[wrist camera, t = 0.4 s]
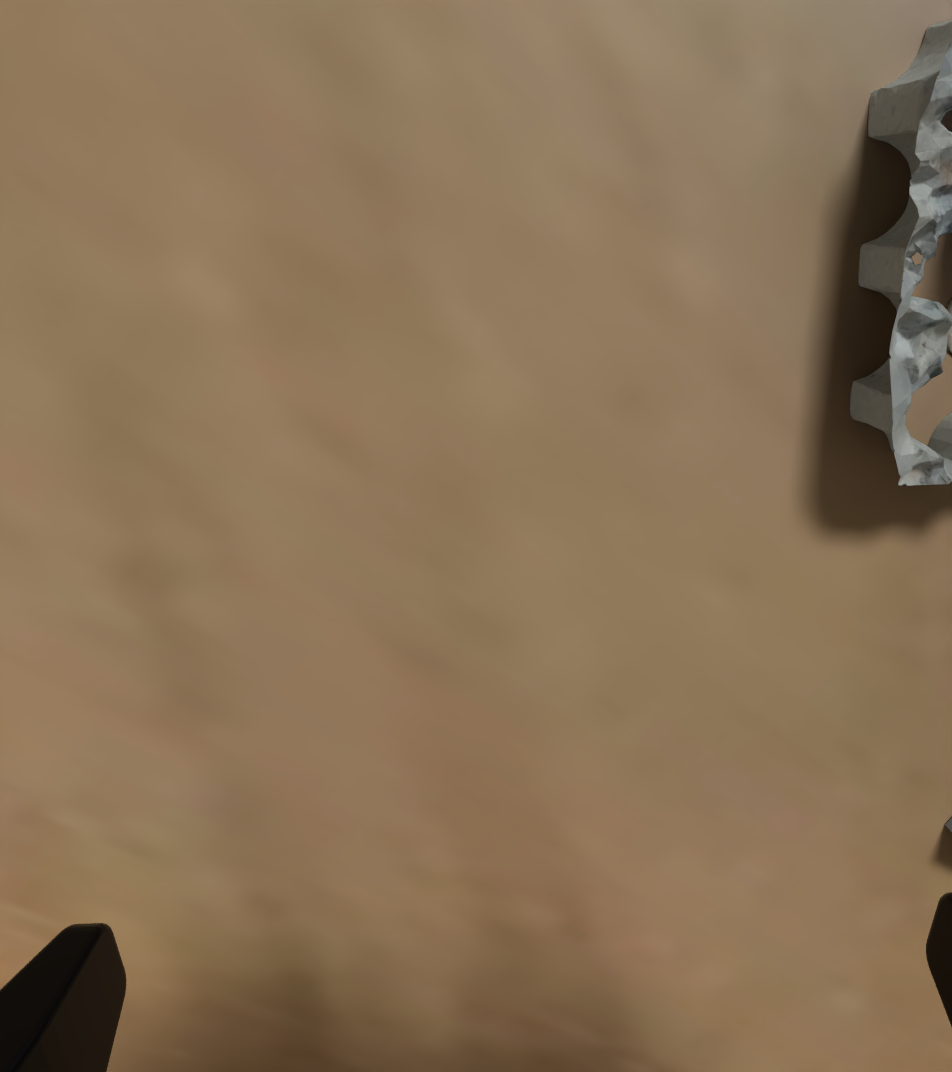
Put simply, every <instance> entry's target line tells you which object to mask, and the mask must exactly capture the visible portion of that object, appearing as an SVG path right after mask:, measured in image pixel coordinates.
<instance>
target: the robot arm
mask: <svg viewBox="0 0 952 1072" xmlns="http://www.w3.org/2000/svg"><path fill="white" fill-rule="evenodd" d="M926 956H927V961H928V965H929V968H930V971H931V974H932V976H933V979H934V982H935V984H936V987H937V989H938V992H939V995H940V997H941V1000H942V1003H943V1005H944V1008H945V1010H946V1013H947V1016H948V1018H949V1021H950V1024H951V1026H952V892H951V893H946V894H944V895H943V896H942V897H941V898H940V900H939V902H938V906H937V909H936V912H935V915H934V919H933V922H932V925H931V929H930V932H929V935H928V939H927V943H926ZM125 991H126V974H125V969H124V966H123V963H122V960H121V957H120V953H119V950H118V947H117V944H116V941H115V938H114V934H113V932H112V930H111V928H110V927H109V926H108V925H107V924H104V923H92V924H74V925H71V926H68V927H67V928H65V929H64V930H62V931H61V932H60V933H59V934H58V935H57V936H56V937H55V938H54V939H53V940H52V941H51V942H50V943H49V944H48V945H46V946H45V947H44V948H43V949H42V950H41V951H40V952H39V953H38V954H37V955H36V956H35V957H34V958H33V959H32V960H31V961H30V962H29V963H28V964H27V965H26V966H25V967H24V968H23V969H21V970H20V971H19V972H18V973H17V974H16V975H15V976H14V977H13V978H12V979H11V980H10V981H9V982H8V983H7V984H6V985H5V986H4V987H3V988H2V989H1V990H0V1072H106V1071H107V1067H108V1063H109V1058H110V1054H111V1050H112V1046H113V1042H114V1038H115V1034H116V1030H117V1026H118V1022H119V1018H120V1014H121V1010H122V1006H123V1001H124V997H125Z"/></svg>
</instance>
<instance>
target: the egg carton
mask: <svg viewBox="0 0 952 1072" xmlns="http://www.w3.org/2000/svg"><path fill="white" fill-rule="evenodd" d="M950 110H952V19H950V20H948V21H945V22H941V23H937V24H935V25H932V26H930V27H928V28H927V30H926V33H925V37H924V40H923V43H922V46H921V48H920V50H919V52H918V54H917V56H916V58H915V59H914V61H913V63H912V64H911V66H910V67H909V69H908V70H907V71H906V72H905V73H904V74H903V75H902V76H901V77H899V78H898V79H897V80H896V81H895V82H893V83H891V84H889V85H887V86H885V87H883V88H880V89H877V90H874V91H873V92H872V93H871V96H870V104H869V120H868V136H870V137H871V138H874V139H876V140H881V141H885V142H887V143H889V144H891V145H892V146H894V147H895V148H896V149H898V150H899V151H900V152H901V153H902V154H903V155H904V157H905V158H906V160H907V161H908V164H909V167H910V170H911V177H910V178H909V194H910V196H909V201H908V204H907V207H906V209H905V211H904V213H903V215H902V216H901V218H900V219H899V220H898V221H897V223H896V224H895V225H894V226H893V227H892V228H891V229H890V230H889V231H887V232H886V233H885V234H883V235H882V236H880V237H879V238H877V239H874V240H872V241H869V242H866V243H864V244H862V246H861V250H860V261H859V274H858V280H859V286H861V287H864V288H867V289H871V290H874V291H877V292H880V293H882V294H883V295H884V296H886V297H887V298H889V299H890V301H891V302H892V303H893V305H894V306H895V307H896V310H897V316H896V319H895V323H894V327H893V331H892V337H891V344H890V350H889V358H888V359H887V361H886V362H885V363H884V364H883V365H882V366H881V367H880V368H879V369H877V370H876V371H875V372H873V373H872V374H870V375H869V376H866V377H863V378H860V379H857V380H854V381H853V385H852V389H851V398H850V414H851V417H852V418H853V419H854V420H857V421H860V422H864V423H867V424H869V425H871V426H873V427H875V428H877V429H880V430H882V431H884V433H885V434H886V436H887V438H888V441H889V444H890V448H891V450H892V451H893V452H894V454H895V459H896V463H897V467H898V472H899V476H900V480H899V483H898V485H902V486H912V485H936V484H950V483H951V482H952V412H951V413H950V414H949V415H947V416H946V417H945V418H944V419H943V420H942V421H941V422H940V423H939V425H938V426H937V427H936V429H935V431H934V432H933V434H932V436H931V438H930V441H929V444H928V446H926V445H924V444H923V443H921V442H919V441H917V440H915V439H913V438H911V436H910V434H909V432H908V430H907V427H906V424H905V419H906V414H907V411H908V409H909V407H910V405H911V395H912V394H913V393H914V392H915V391H916V390H918V389H919V388H921V387H922V386H924V385H925V384H926V383H927V382H928V381H929V380H930V379H931V378H933V377H935V376H937V375H939V374H941V373H942V372H943V370H942V363H943V361H944V358H945V356H946V351H947V349H948V350H949V351H950V352H951V354H952V299H951V301H950V303H949V305H948V307H947V310H946V309H945V307H944V306H943V305H942V304H941V303H939V302H937V301H933V300H928V299H923V298H918V297H913V296H911V294H912V293H913V291H914V289H915V287H916V285H917V284H918V283H920V281H921V280H922V278H923V277H924V263H925V262H926V261H927V260H928V259H929V258H931V257H934V256H935V254H936V250H937V246H938V239H939V237H940V236H941V235H943V234H949V233H952V132H950V131H948V130H947V129H946V128H945V127H944V126H943V125H942V121H941V120H942V119H943V117H944V115H945V114H946V112H948V111H950ZM916 252H918V253H920V254H921V255H923V259H922V264H917V265H914V263H913V260H912V258H911V257H912V256H913V255H914V254H915V253H916Z"/></svg>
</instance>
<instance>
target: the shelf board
mask: <svg viewBox="0 0 952 1072" xmlns="http://www.w3.org/2000/svg"><path fill="white" fill-rule="evenodd" d="M945 825H946V826H947V827H948V829H949V830H950V831H951V832H952V818H951V819H950V820H949V821H948V822H947V823H946V824H945Z"/></svg>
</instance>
